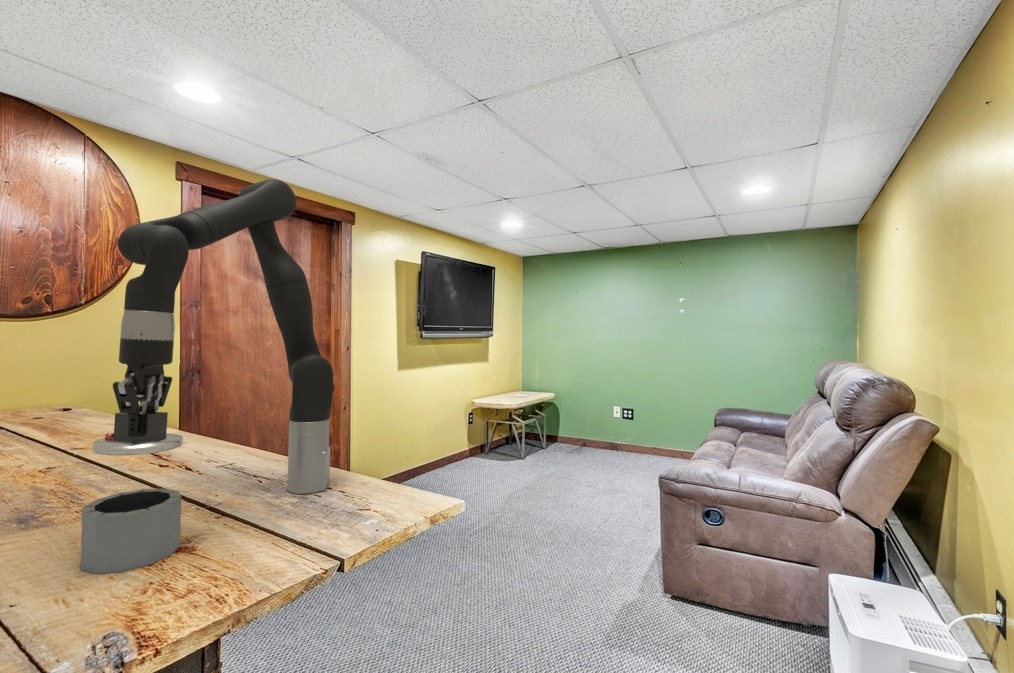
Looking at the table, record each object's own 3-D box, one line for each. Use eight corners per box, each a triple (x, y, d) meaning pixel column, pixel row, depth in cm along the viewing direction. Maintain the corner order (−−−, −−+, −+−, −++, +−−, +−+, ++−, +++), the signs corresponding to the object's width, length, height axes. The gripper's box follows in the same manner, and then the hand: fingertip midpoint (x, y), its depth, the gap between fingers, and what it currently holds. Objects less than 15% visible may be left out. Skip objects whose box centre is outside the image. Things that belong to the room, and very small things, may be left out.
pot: (192, 534, 86) (193, 487, 86) (154, 569, 74) (156, 514, 74) (112, 539, 84) (114, 490, 84) (59, 576, 71) (61, 518, 71)
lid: (195, 439, 88) (197, 408, 88) (158, 455, 76) (161, 419, 76) (122, 438, 86) (125, 406, 86) (73, 455, 74) (75, 417, 74)
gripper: (148, 338, 75) (141, 443, 75) (190, 338, 89) (184, 427, 88) (96, 335, 74) (88, 443, 73) (147, 336, 87) (141, 426, 87)
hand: (141, 434), depth 81 cm, fingers closed on lid, 2 cm apart
